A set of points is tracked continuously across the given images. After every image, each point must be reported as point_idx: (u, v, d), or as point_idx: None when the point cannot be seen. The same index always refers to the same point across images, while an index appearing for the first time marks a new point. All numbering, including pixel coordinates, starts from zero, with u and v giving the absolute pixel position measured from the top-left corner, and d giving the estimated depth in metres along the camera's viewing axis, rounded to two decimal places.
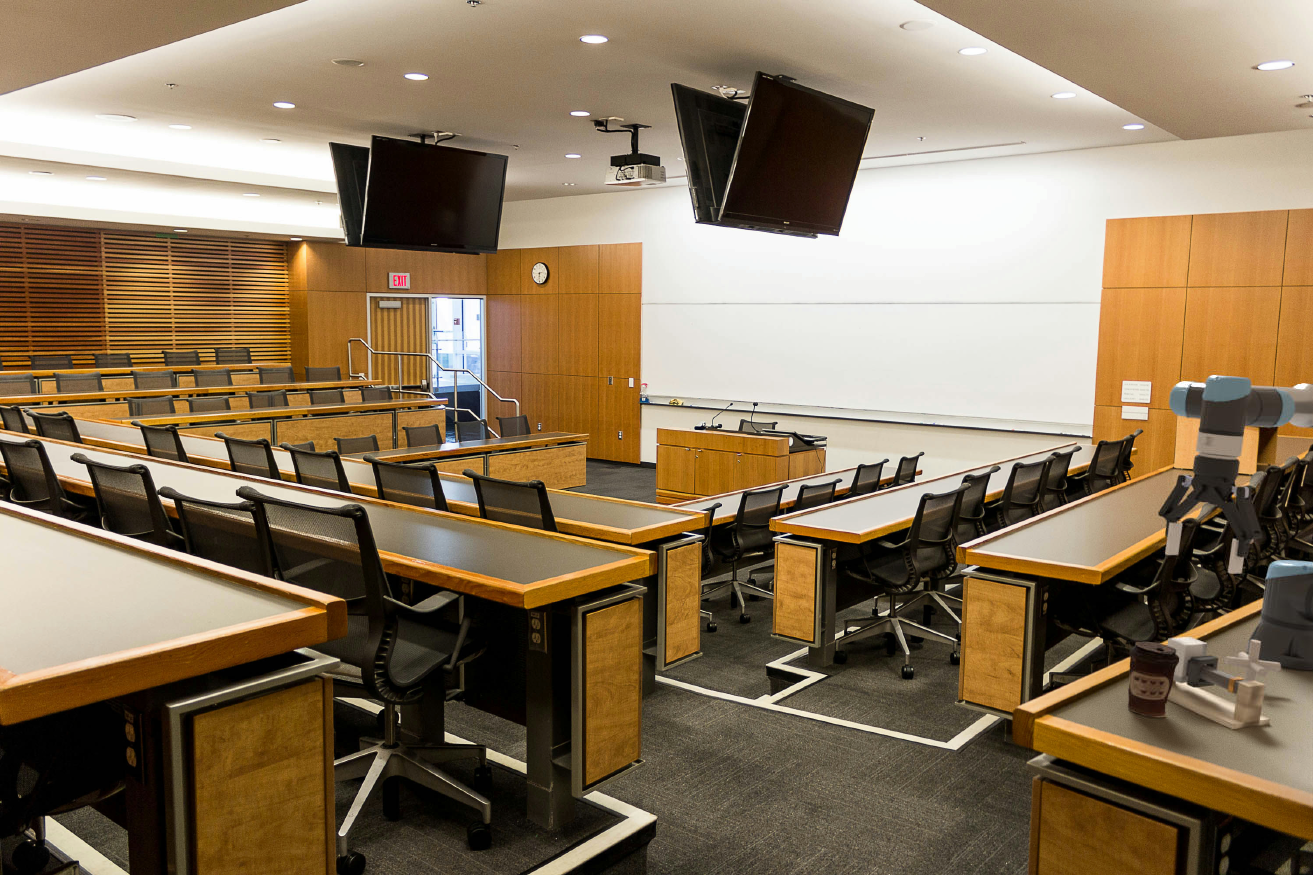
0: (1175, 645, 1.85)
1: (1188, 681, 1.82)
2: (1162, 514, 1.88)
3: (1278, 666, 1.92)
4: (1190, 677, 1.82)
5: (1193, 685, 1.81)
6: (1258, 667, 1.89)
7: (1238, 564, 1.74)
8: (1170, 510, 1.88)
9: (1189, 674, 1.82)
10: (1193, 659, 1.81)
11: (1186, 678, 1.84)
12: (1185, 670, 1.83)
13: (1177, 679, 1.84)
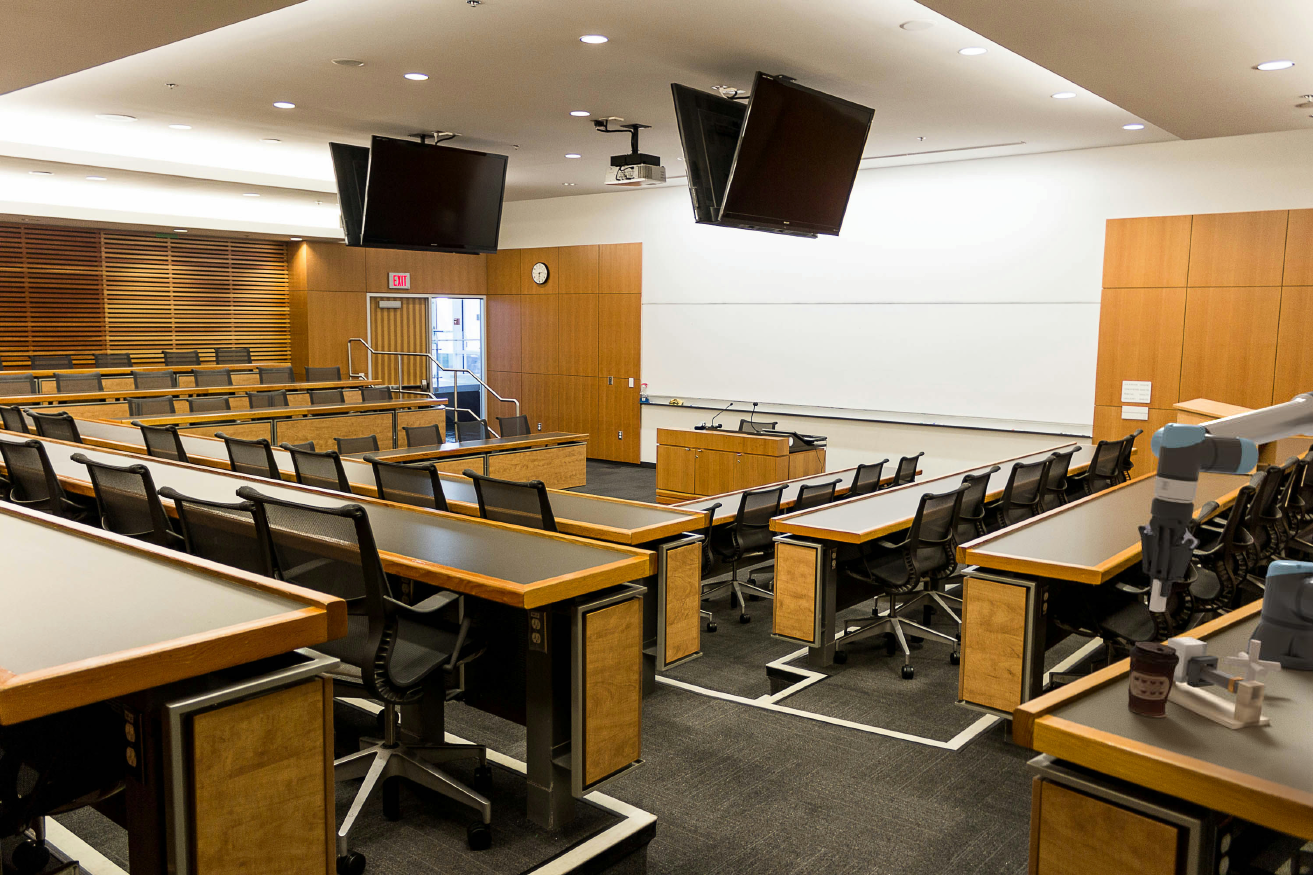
0: (1175, 645, 1.85)
1: (1188, 681, 1.82)
2: (1146, 569, 1.93)
3: (1278, 666, 1.92)
4: (1190, 677, 1.82)
5: (1193, 685, 1.81)
6: (1258, 667, 1.89)
7: (1162, 603, 1.91)
8: None
9: (1189, 674, 1.82)
10: (1193, 659, 1.81)
11: (1186, 678, 1.84)
12: (1185, 670, 1.83)
13: (1177, 679, 1.84)
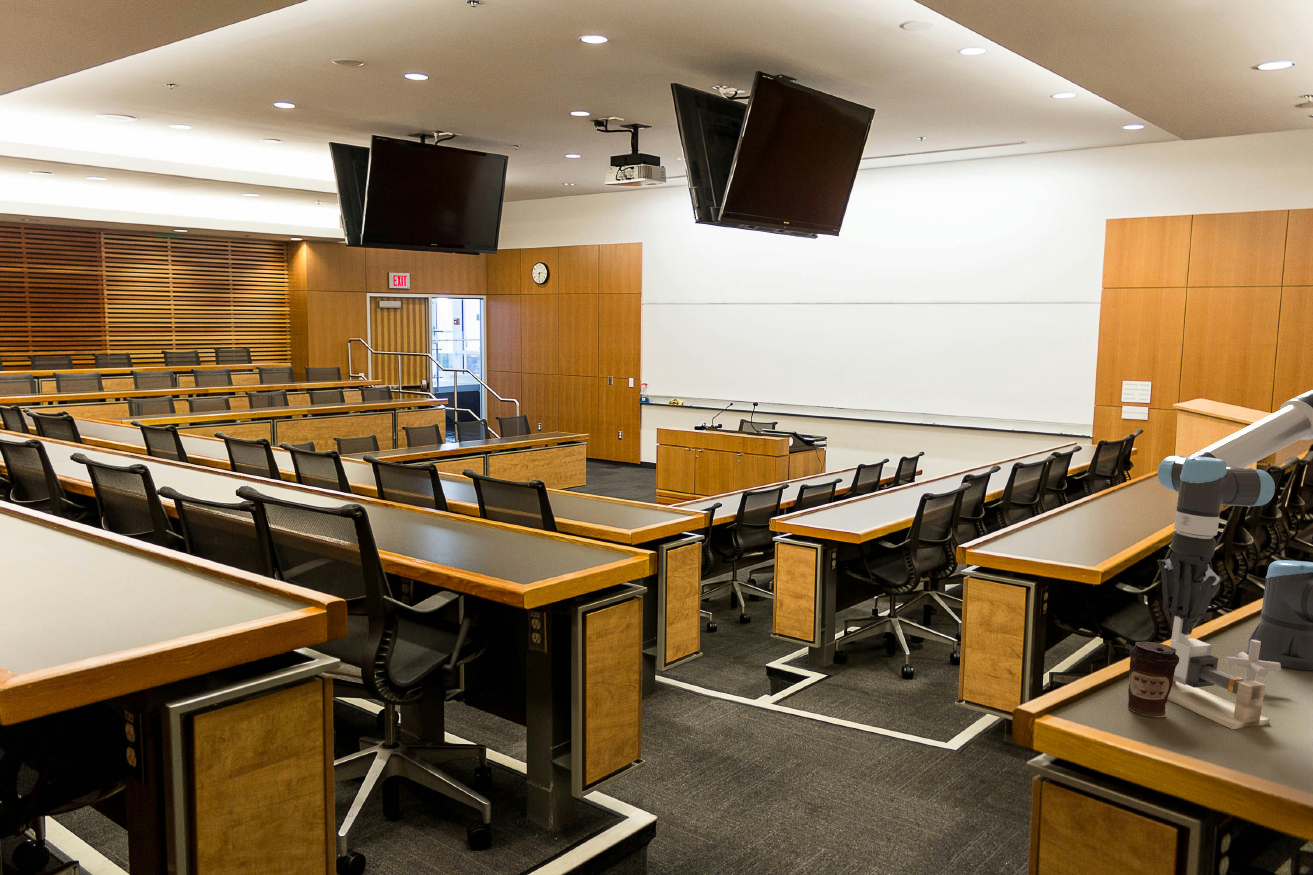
0: (1179, 646, 1.84)
1: (1188, 681, 1.82)
2: (1167, 605, 1.88)
3: (1278, 666, 1.92)
4: (1190, 677, 1.82)
5: (1193, 685, 1.81)
6: (1258, 667, 1.89)
7: None
8: None
9: (1189, 674, 1.82)
10: (1193, 659, 1.81)
11: None
12: None
13: (1181, 681, 1.83)
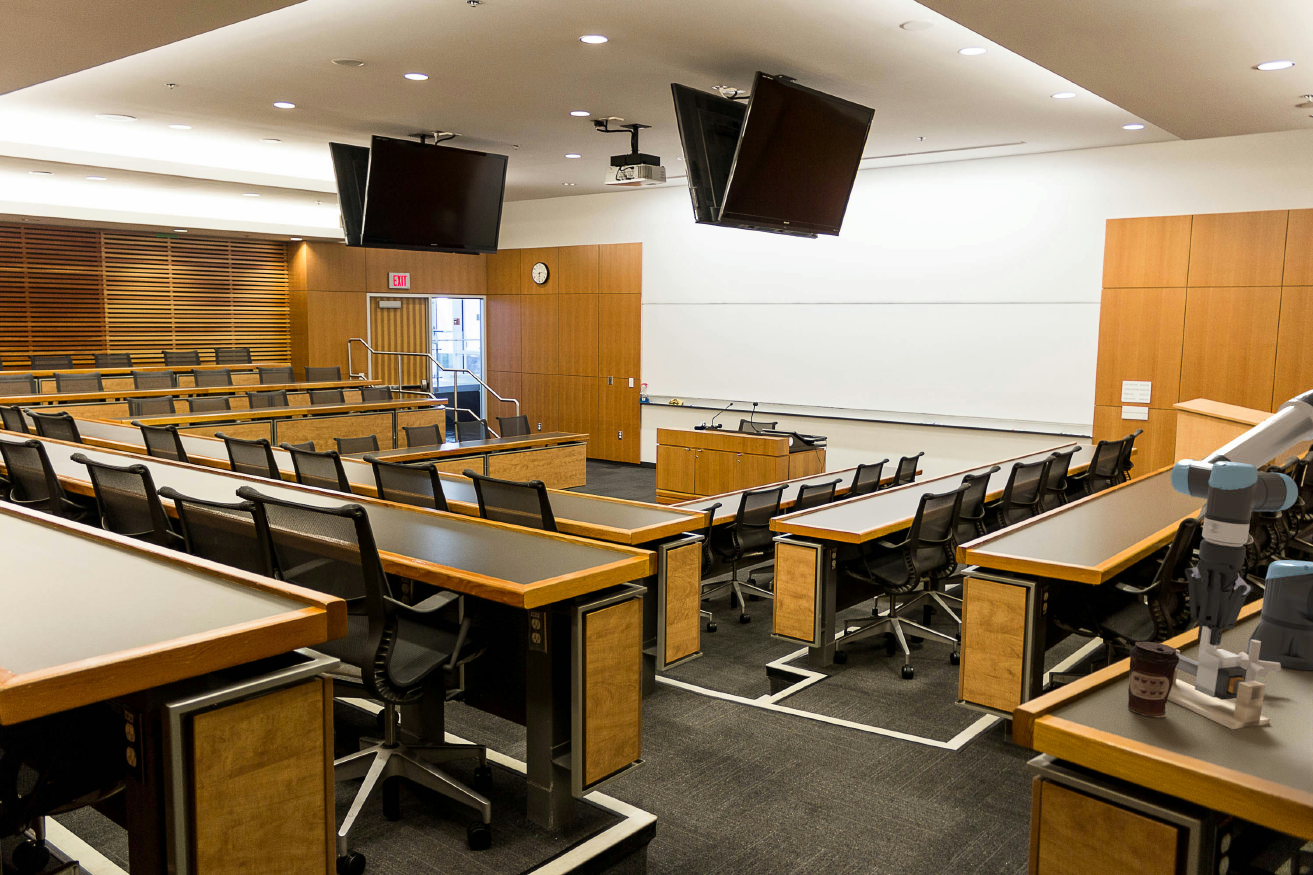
0: (1207, 658, 1.78)
1: (1216, 693, 1.77)
2: (1195, 615, 1.83)
3: (1278, 666, 1.92)
4: (1218, 688, 1.76)
5: (1221, 697, 1.76)
6: (1258, 667, 1.89)
7: None
8: None
9: (1217, 686, 1.76)
10: (1221, 670, 1.76)
11: None
12: None
13: (1210, 693, 1.78)
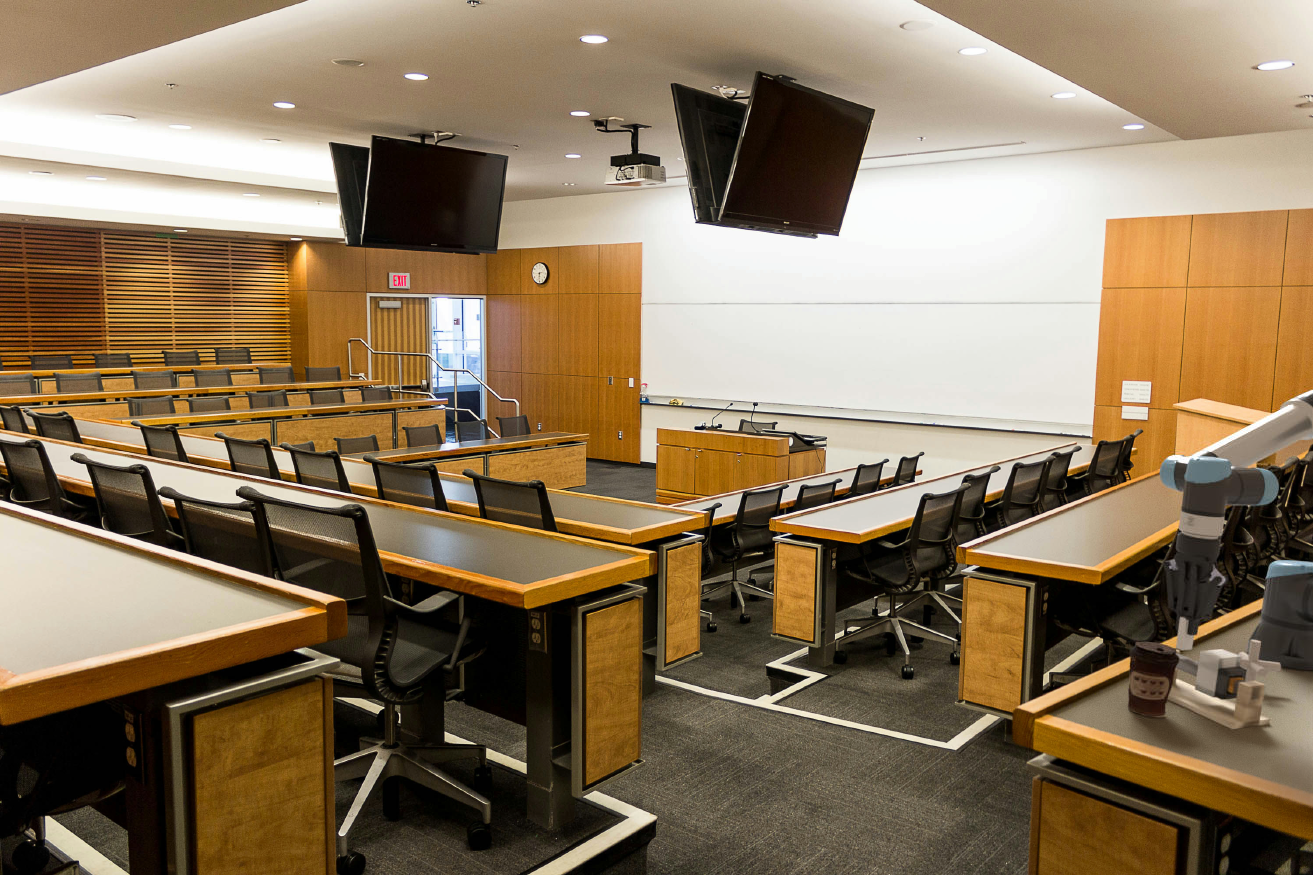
0: (1207, 658, 1.78)
1: (1216, 693, 1.77)
2: (1172, 606, 1.88)
3: (1278, 666, 1.92)
4: (1218, 688, 1.76)
5: (1221, 697, 1.76)
6: (1258, 667, 1.89)
7: (1189, 641, 1.86)
8: None
9: (1217, 686, 1.76)
10: (1221, 670, 1.76)
11: None
12: None
13: (1210, 693, 1.78)
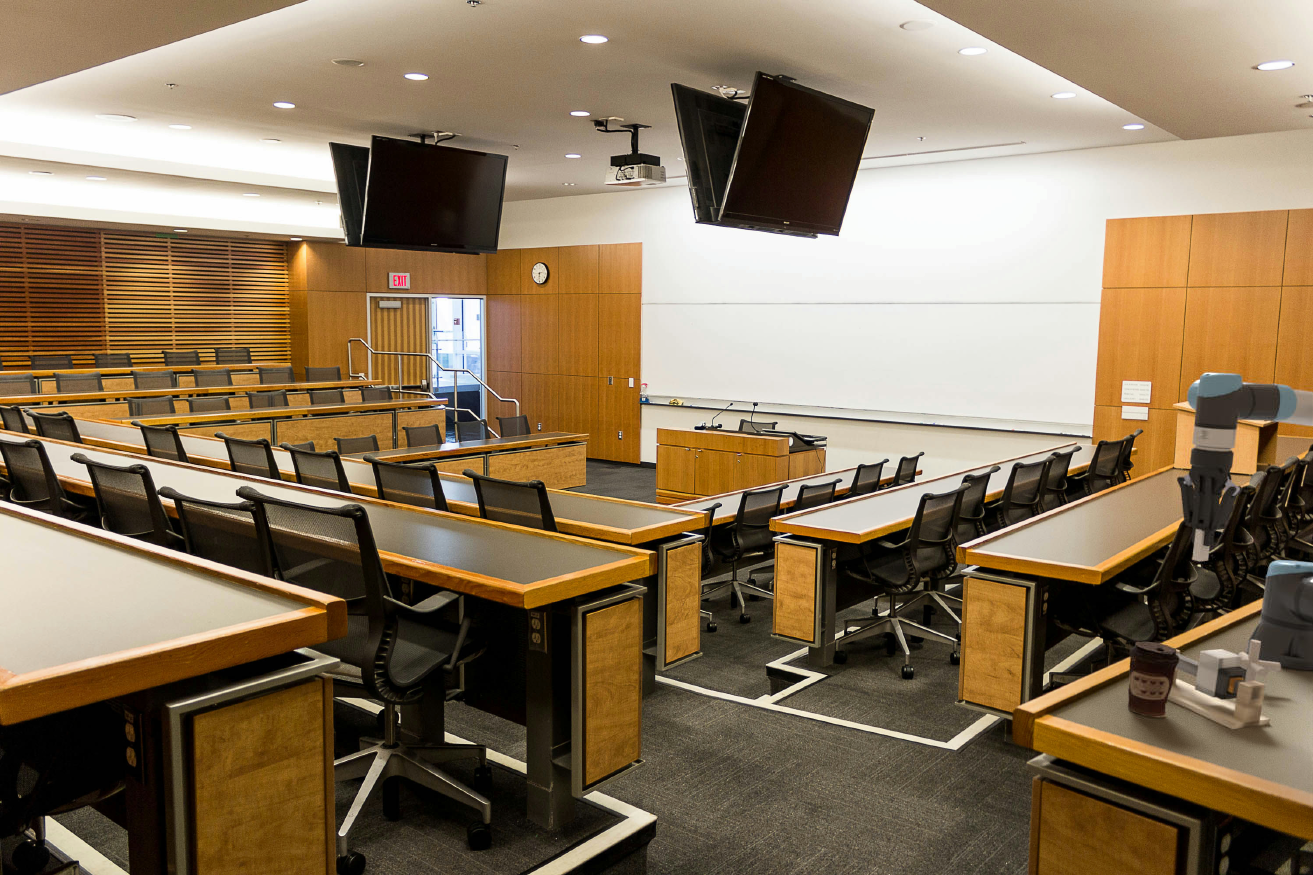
0: (1207, 658, 1.78)
1: (1216, 693, 1.77)
2: (1188, 519, 1.94)
3: (1278, 666, 1.92)
4: (1218, 688, 1.76)
5: (1221, 697, 1.76)
6: (1258, 667, 1.89)
7: (1205, 553, 1.92)
8: (1193, 515, 1.95)
9: (1217, 686, 1.76)
10: (1221, 670, 1.76)
11: None
12: None
13: (1210, 693, 1.78)
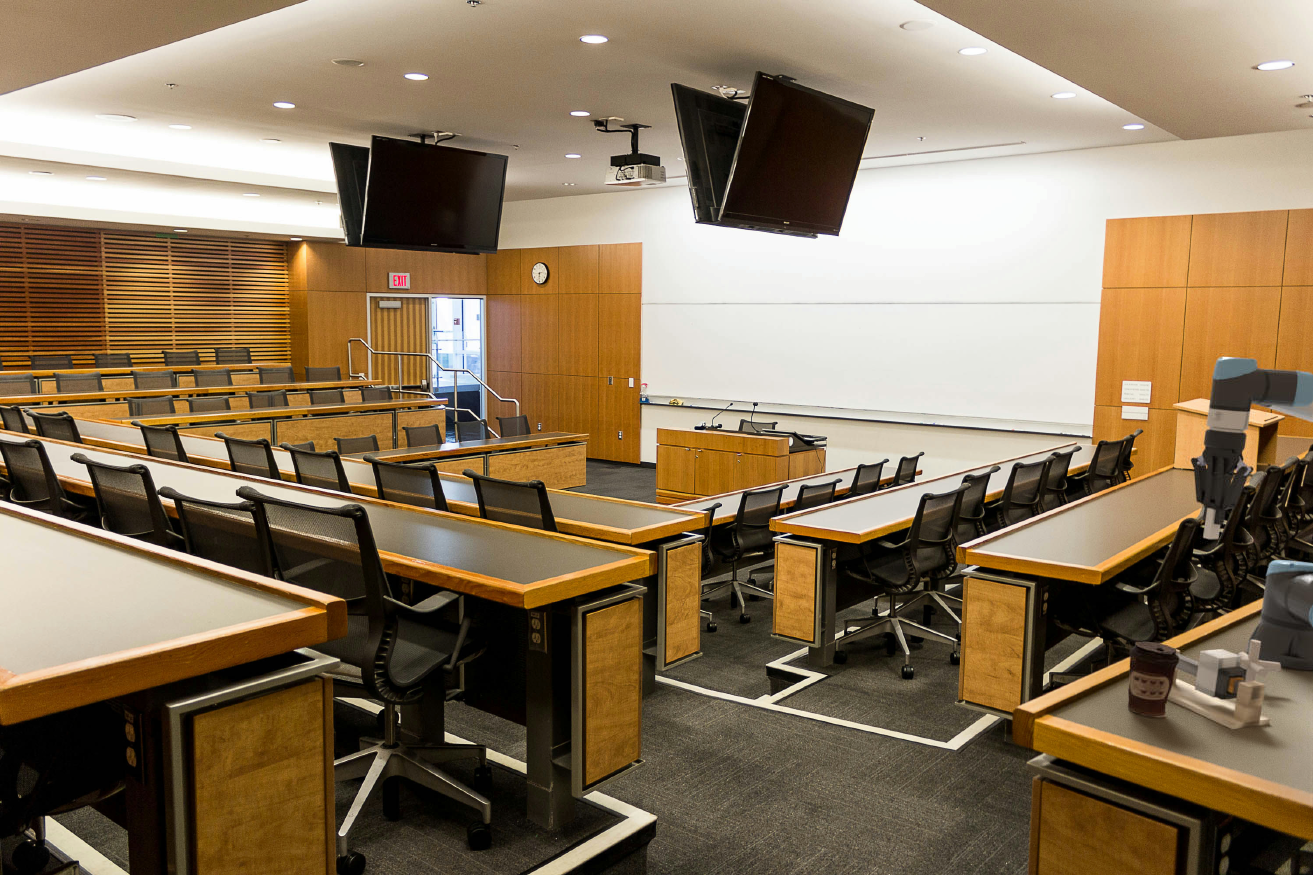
0: (1207, 658, 1.78)
1: (1216, 693, 1.77)
2: (1200, 499, 2.01)
3: (1278, 666, 1.92)
4: (1218, 688, 1.76)
5: (1221, 697, 1.76)
6: (1258, 667, 1.89)
7: (1215, 531, 1.99)
8: (1205, 495, 2.02)
9: (1217, 686, 1.76)
10: (1221, 670, 1.76)
11: None
12: None
13: (1210, 693, 1.78)
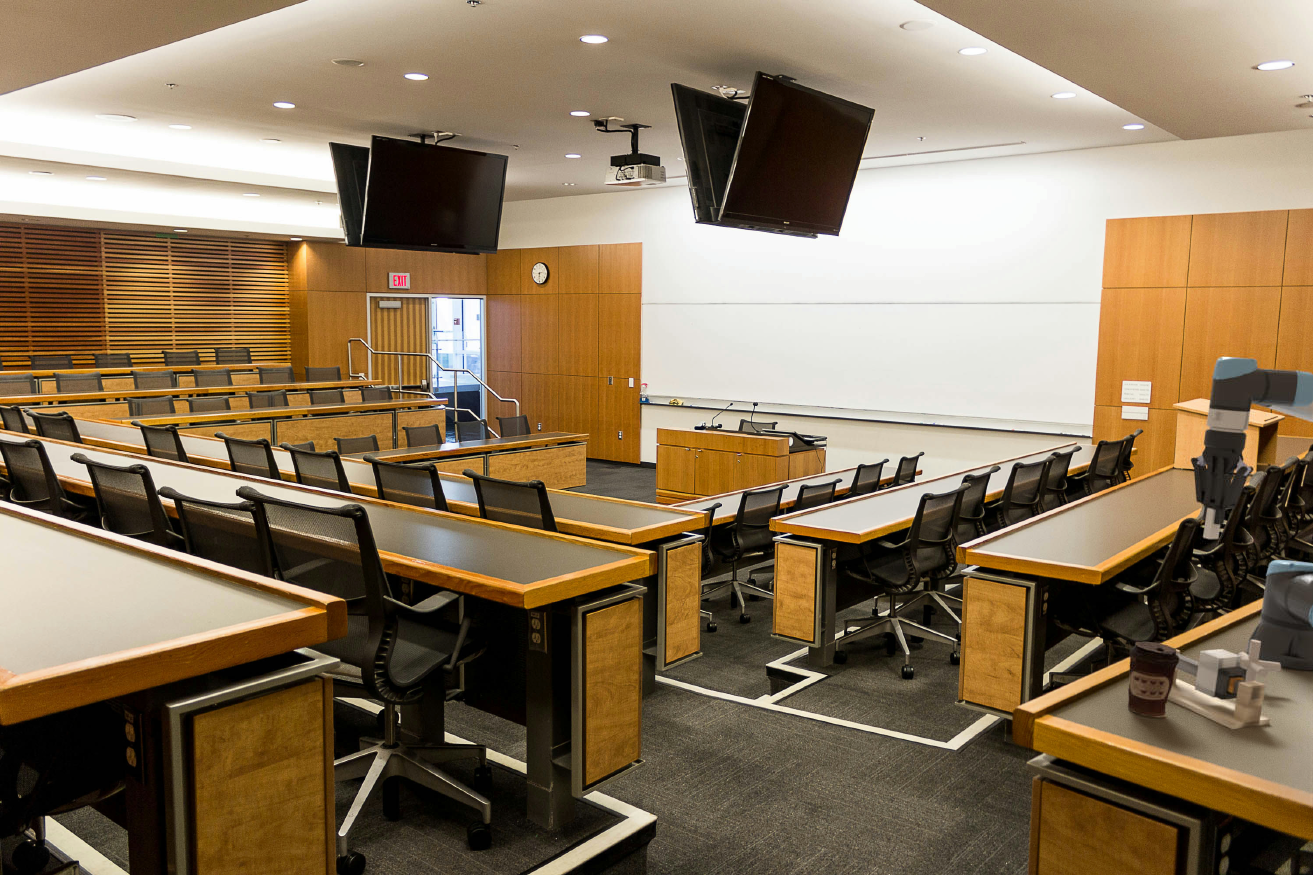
0: (1207, 658, 1.78)
1: (1216, 693, 1.77)
2: (1200, 499, 2.01)
3: (1278, 666, 1.92)
4: (1218, 688, 1.76)
5: (1221, 697, 1.76)
6: (1258, 667, 1.89)
7: (1215, 531, 1.99)
8: (1205, 495, 2.02)
9: (1217, 686, 1.76)
10: (1221, 670, 1.76)
11: None
12: None
13: (1210, 693, 1.78)
